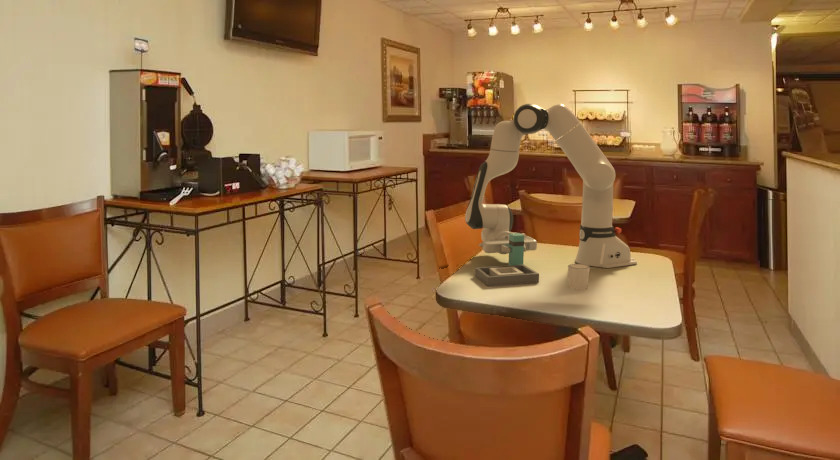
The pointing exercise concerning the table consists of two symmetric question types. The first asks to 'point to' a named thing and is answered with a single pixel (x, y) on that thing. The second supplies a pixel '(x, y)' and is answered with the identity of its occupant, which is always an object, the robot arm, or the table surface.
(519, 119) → the robot arm
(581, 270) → the beige cylinder
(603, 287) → the table surface
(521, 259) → the plug
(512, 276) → the grey tray
